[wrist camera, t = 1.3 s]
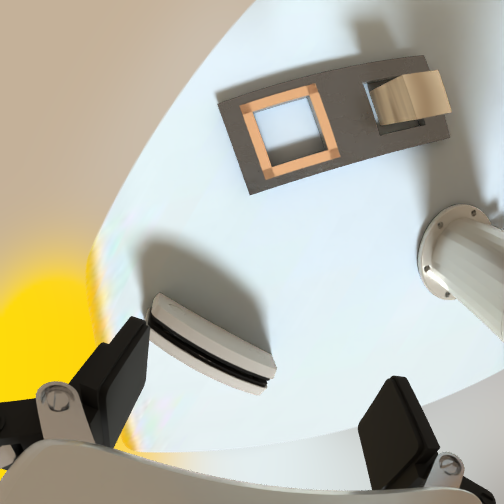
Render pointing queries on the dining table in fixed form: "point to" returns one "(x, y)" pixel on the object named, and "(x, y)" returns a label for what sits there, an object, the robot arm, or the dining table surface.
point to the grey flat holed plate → (325, 122)
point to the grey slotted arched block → (208, 347)
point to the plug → (410, 98)
